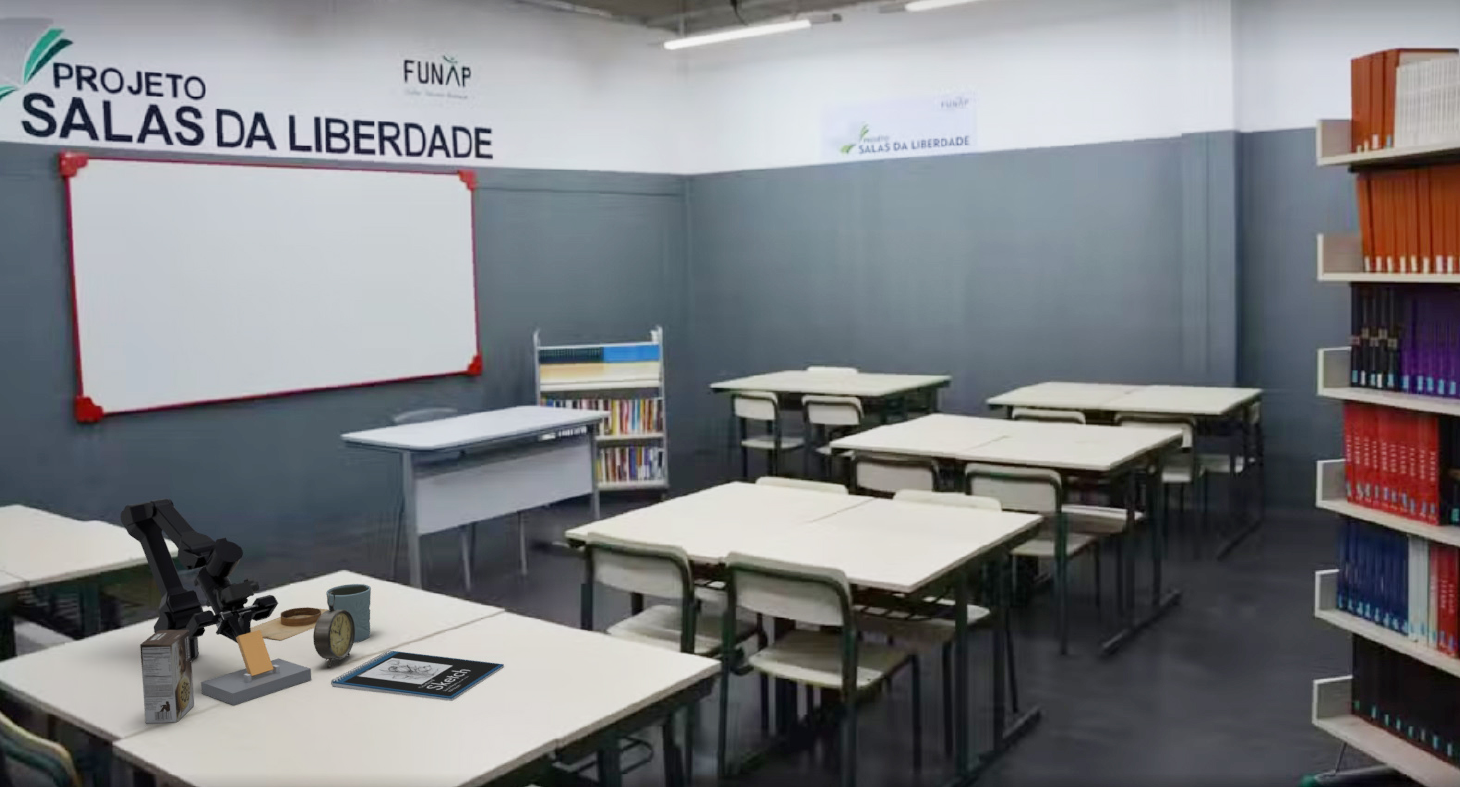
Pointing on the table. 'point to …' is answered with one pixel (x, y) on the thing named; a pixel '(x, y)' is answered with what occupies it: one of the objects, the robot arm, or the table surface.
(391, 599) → the table surface
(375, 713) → the table surface
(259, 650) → the orange foam slab
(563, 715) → the table surface
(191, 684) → the coffee box
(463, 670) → the sketchbook
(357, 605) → the blue-grey cylinder
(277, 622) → the board
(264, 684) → the switch panel
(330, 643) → the alarm clock
